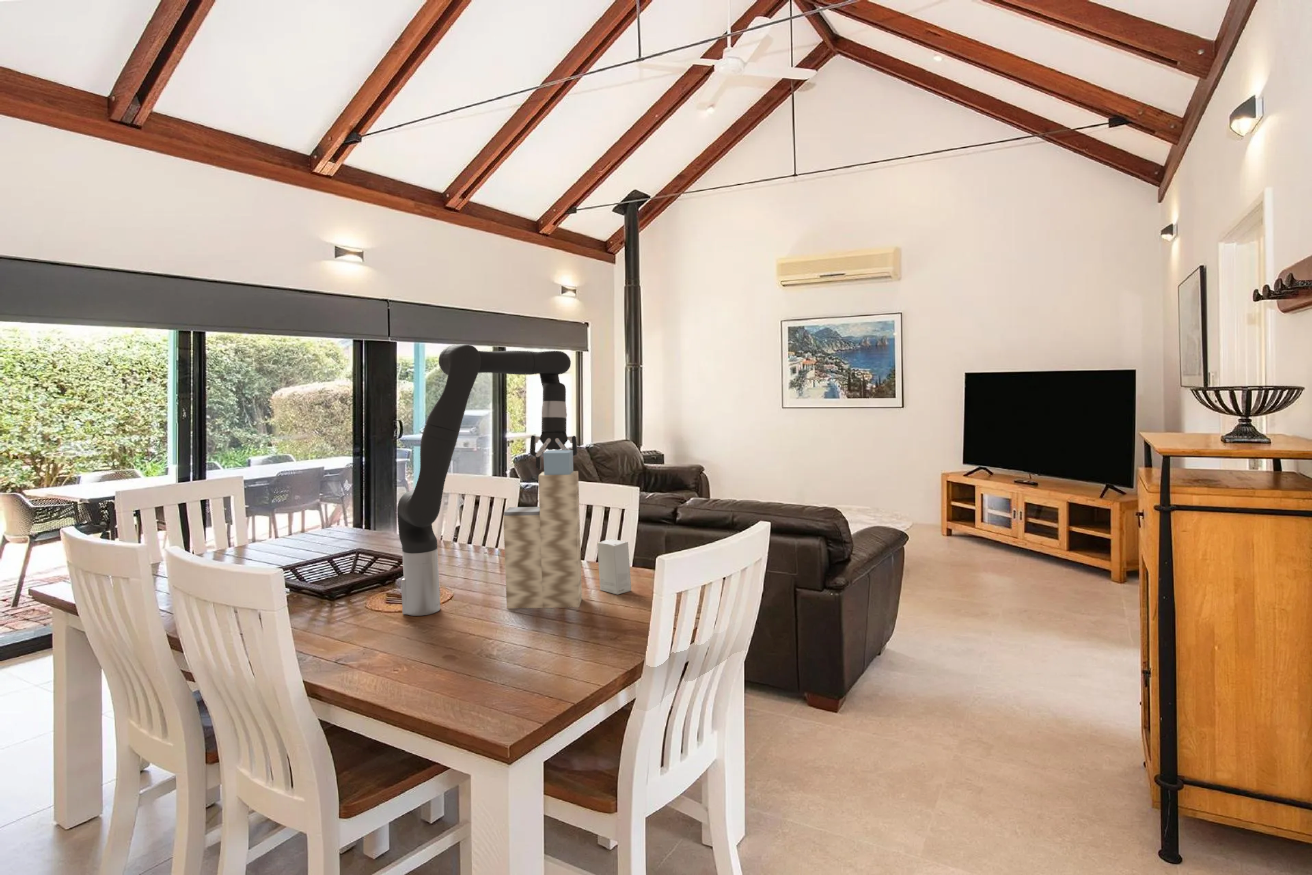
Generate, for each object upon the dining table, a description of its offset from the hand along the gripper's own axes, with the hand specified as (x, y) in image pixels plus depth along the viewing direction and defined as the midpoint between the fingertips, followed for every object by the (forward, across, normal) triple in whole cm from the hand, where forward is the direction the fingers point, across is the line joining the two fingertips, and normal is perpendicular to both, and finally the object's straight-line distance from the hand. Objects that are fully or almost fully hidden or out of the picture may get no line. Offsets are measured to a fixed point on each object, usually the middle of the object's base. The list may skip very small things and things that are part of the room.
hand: (553, 469), depth 222 cm
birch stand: (+38, 0, -15) cm, 41 cm away
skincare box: (+36, +19, -4) cm, 41 cm away
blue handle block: (0, +4, -15) cm, 16 cm away
